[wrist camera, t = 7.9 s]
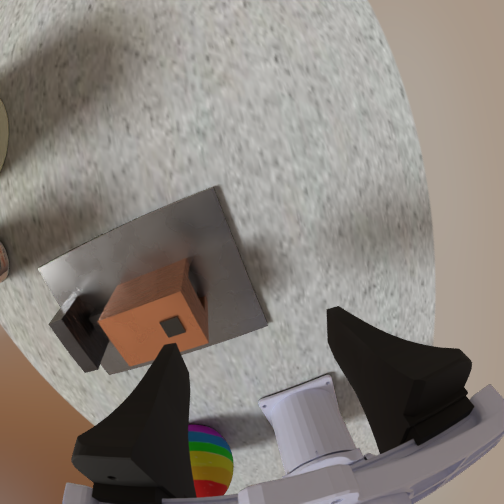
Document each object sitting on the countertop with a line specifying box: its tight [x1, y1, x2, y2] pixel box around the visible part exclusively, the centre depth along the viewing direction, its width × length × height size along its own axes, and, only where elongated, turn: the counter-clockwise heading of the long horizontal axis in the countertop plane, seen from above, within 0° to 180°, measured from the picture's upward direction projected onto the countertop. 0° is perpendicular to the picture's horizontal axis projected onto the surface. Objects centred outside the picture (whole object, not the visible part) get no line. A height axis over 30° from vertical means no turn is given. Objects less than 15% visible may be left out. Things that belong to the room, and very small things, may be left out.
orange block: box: [98, 258, 209, 366], centre depth 19 cm, size 4×6×5 cm, turn 109°
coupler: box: [38, 187, 268, 375], centre depth 20 cm, size 12×16×4 cm
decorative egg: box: [188, 425, 234, 498], centre depth 24 cm, size 8×8×10 cm
